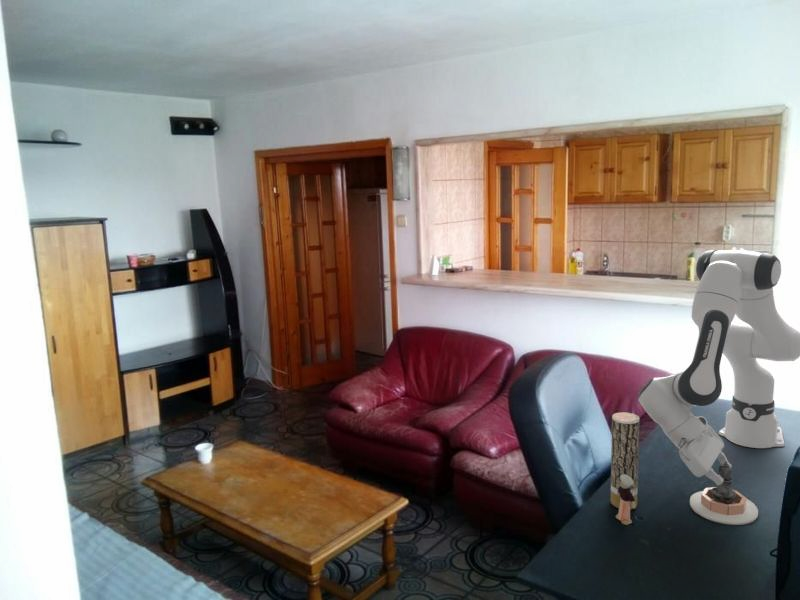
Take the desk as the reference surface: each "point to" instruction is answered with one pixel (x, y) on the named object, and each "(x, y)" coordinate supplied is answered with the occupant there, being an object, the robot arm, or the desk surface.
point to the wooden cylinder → (624, 453)
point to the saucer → (724, 508)
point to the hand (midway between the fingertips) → (725, 475)
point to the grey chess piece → (724, 486)
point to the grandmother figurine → (625, 499)
